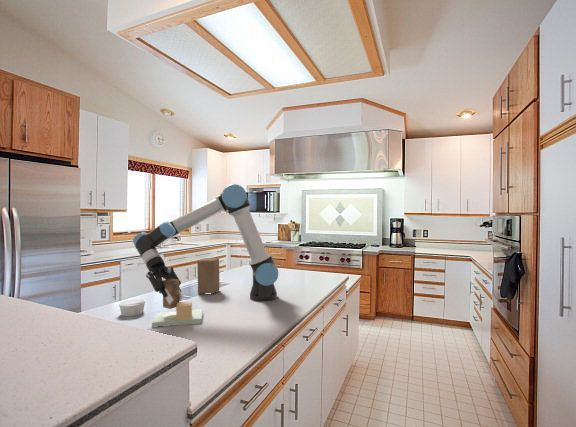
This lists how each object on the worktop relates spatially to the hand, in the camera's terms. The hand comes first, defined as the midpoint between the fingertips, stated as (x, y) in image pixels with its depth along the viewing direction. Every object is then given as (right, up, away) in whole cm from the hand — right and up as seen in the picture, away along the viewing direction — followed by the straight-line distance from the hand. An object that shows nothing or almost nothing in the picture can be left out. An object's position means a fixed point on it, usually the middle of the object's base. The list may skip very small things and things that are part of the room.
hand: (176, 300), depth 142 cm
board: (+1, -9, +1) cm, 9 cm away
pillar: (-3, -3, +2) cm, 5 cm away
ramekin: (-25, -10, +11) cm, 29 cm away
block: (+2, -9, +49) cm, 50 cm away
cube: (+4, -7, -2) cm, 8 cm away
